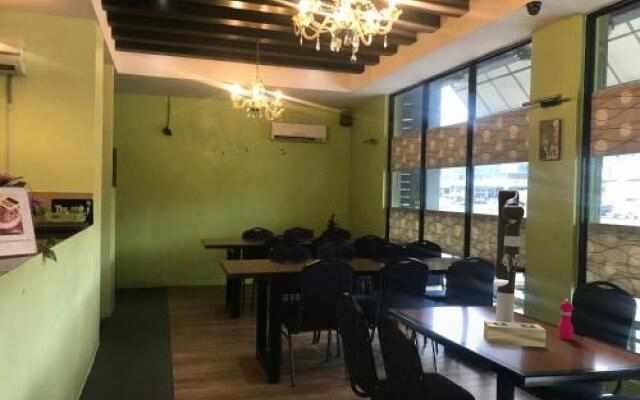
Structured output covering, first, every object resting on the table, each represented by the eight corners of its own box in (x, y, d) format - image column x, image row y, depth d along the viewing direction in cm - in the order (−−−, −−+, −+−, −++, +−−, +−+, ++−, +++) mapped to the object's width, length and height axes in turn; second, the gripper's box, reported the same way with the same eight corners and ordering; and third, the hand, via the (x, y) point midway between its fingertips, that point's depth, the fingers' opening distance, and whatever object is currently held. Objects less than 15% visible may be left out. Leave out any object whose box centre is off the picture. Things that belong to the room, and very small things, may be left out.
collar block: (483, 336, 255) (484, 320, 255) (537, 340, 252) (538, 324, 252) (488, 343, 243) (489, 326, 243) (545, 347, 240) (545, 330, 240)
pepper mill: (574, 340, 255) (576, 300, 255) (559, 339, 256) (561, 299, 256) (570, 336, 262) (572, 298, 262) (555, 335, 263) (557, 297, 263)
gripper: (501, 243, 266) (499, 276, 266) (507, 245, 253) (505, 280, 253) (516, 244, 265) (514, 277, 265) (522, 246, 252) (521, 281, 252)
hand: (510, 278), depth 259 cm, fingers closed
